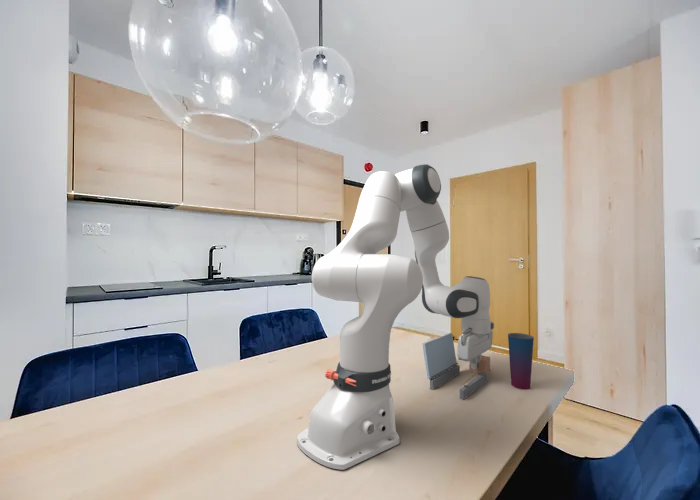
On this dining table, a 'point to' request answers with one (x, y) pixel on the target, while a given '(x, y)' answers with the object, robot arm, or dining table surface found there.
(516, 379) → the cup
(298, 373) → the dining table surface
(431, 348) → the cover
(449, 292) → the robot arm
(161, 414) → the dining table surface
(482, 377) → the grey rail
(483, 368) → the block
